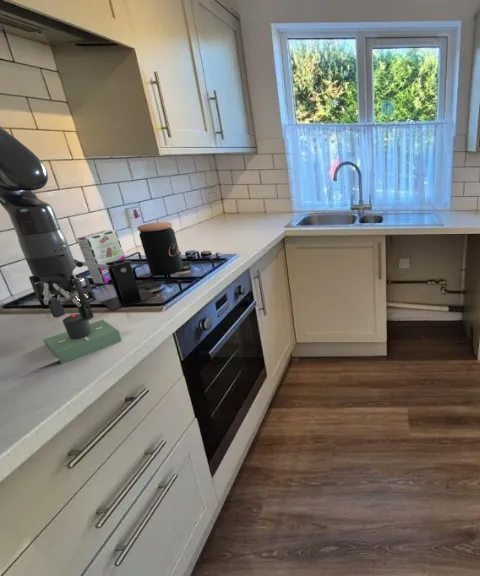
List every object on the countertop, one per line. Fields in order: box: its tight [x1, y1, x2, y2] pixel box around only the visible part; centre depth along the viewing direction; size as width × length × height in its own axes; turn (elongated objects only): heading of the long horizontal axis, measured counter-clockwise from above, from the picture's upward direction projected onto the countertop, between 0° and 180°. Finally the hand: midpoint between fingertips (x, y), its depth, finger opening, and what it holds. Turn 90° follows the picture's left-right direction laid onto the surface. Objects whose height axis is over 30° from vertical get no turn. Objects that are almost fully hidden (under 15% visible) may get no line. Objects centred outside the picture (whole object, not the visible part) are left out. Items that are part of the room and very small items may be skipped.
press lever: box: [73, 258, 118, 271], centre depth 102 cm, size 12×5×2 cm, turn 144°
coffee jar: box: [136, 221, 184, 277], centre depth 130 cm, size 11×11×18 cm
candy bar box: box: [76, 229, 127, 285], centre depth 127 cm, size 11×5×16 cm, turn 170°
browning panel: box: [42, 319, 122, 365], centre depth 87 cm, size 12×10×3 cm
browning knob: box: [62, 313, 93, 339], centre depth 85 cm, size 4×4×5 cm
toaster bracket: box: [100, 259, 158, 311], centre depth 108 cm, size 12×10×13 cm
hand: (74, 317), depth 85 cm, fingers open, 8 cm apart
